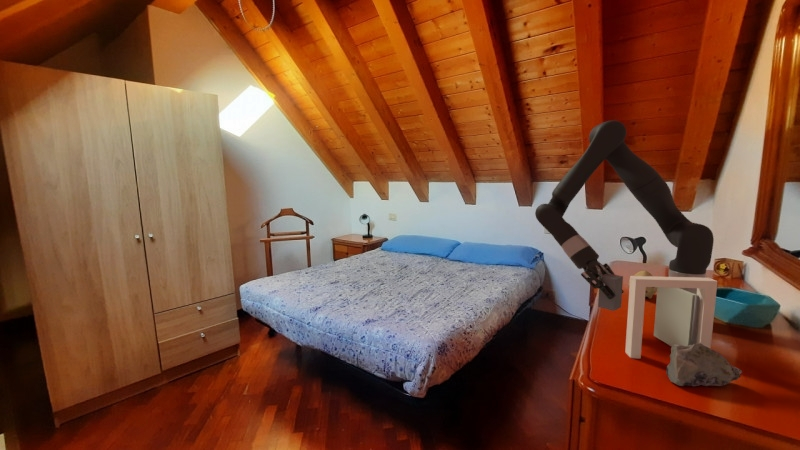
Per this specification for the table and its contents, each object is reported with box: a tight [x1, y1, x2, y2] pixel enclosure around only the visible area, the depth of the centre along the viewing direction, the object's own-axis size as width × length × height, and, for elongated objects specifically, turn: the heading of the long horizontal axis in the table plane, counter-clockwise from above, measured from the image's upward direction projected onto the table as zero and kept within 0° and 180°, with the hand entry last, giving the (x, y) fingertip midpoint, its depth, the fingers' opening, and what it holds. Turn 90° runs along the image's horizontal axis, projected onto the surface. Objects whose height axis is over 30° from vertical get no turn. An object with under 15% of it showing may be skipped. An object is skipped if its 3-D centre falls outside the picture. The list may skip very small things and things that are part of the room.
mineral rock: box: [665, 343, 743, 387], centre depth 77 cm, size 13×11×10 cm
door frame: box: [624, 275, 718, 359], centre depth 87 cm, size 18×3×22 cm, turn 80°
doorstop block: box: [597, 273, 624, 312], centre depth 103 cm, size 4×5×10 cm
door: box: [653, 287, 699, 347], centre depth 92 cm, size 13×3×17 cm, turn 0°
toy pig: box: [628, 270, 657, 299], centre depth 133 cm, size 10×12×11 cm
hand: (616, 295), depth 102 cm, fingers closed on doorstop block, 5 cm apart
